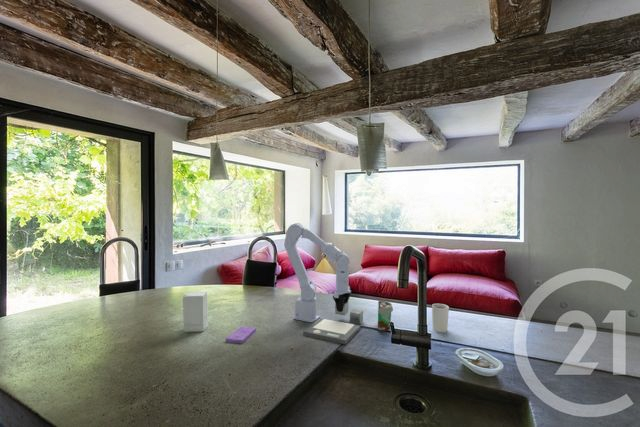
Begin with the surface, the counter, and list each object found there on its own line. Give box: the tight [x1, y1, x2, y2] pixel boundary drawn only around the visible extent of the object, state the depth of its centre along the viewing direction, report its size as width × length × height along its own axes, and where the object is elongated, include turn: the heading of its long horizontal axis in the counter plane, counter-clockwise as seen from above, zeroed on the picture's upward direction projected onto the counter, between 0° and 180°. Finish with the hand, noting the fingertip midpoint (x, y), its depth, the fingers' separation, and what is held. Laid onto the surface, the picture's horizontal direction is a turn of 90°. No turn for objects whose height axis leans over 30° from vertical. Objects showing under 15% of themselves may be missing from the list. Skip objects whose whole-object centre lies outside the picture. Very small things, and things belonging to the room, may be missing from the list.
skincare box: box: [182, 291, 209, 333], centre depth 126 cm, size 8×6×15 cm
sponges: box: [225, 326, 257, 344], centre depth 121 cm, size 7×13×2 cm, turn 168°
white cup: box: [431, 303, 450, 333], centre depth 129 cm, size 7×7×10 cm
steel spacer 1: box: [334, 300, 349, 316], centre depth 140 cm, size 4×4×5 cm
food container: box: [377, 299, 394, 333], centre depth 131 cm, size 12×6×10 cm, turn 168°
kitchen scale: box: [303, 318, 361, 345], centre depth 125 cm, size 18×16×2 cm
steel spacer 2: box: [349, 308, 364, 326], centre depth 137 cm, size 4×4×5 cm
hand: (341, 309), depth 140 cm, fingers closed on steel spacer 1, 4 cm apart
